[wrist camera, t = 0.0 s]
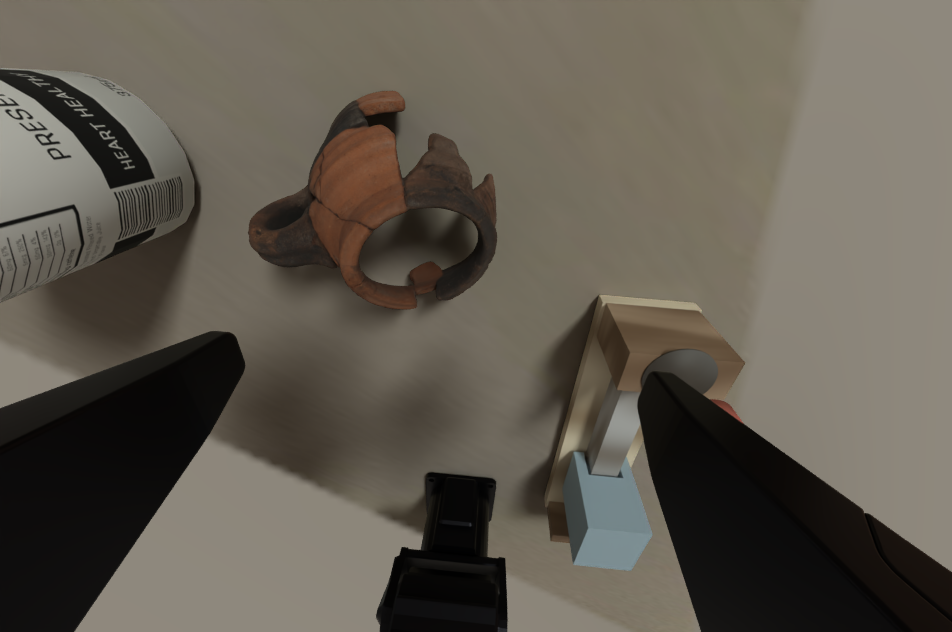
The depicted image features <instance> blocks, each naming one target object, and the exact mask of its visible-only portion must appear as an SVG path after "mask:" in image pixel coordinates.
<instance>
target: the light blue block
mask: <svg viewBox="0 0 952 632" xmlns="http://www.w3.org/2000/svg"><path fill="white" fill-rule="evenodd" d="M562 491H563V498H564V505H565V512H566V519H567V525H568V532H569V539H570V546H571V553H572V560H573V565H581V566H590V567H600V568H609V569H619V570H628V571H631V570H632V568H633V566H634V565H635V563H636V561H637V560H638V558H639V556H640V555H641V553H642V551H643V550H644V548H645V546H646V545H647V543H648V541H649V540H650V538H651V536H652V535H653V534H652V531H651V528H650V525H649V522H648V519H647V516H646V513H645V510H644V507H643V504H642V501H641V498H640V495H639V492H638V489H637V486H636V483H635V480H634V477H633V474H632V471H631V468H630V465H629V462H628V459H627V457H626V458H625V460H624V462H623V465H622V467H621V469H620V472H619V474H618V476H617V478H616V477H605V476H595V475H589V474H588V469H587V465H586V460H585V456H584V452H573V456H572V459H571V462H570V465H569V468H568V472H567V475H566V478H565V481H564V484H563V488H562Z"/></svg>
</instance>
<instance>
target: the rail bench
mask: <svg viewBox="0 0 952 632" xmlns="http://www.w3.org/2000/svg"><path fill="white" fill-rule="evenodd" d="M701 313H702V310H701V309H700V308H699V307H698V306H697V305H696V304H695V303H690V302H678V301H667V300H655V299H643V298H631V297H620V296H608V295H599V298H598V301H597V305H596V309H595V312H594V316H593V320H592V323H591V327H590V331H589V334H588V338H587V342H586V345H585V349H584V353H583V356H582V360H581V364H580V367H579V371H578V375H577V378H576V382H575V386H574V389H573V393H572V397H571V400H570V404H569V408H568V411H567V415H566V419H565V422H564V426H563V430H562V433H561V437H560V441H559V444H558V448H557V452H556V455H555V459H554V463H553V466H552V470H551V474H550V477H549V481H548V485H547V488H546V492H545V496H544V501H545V507H547V510H548V519H549V529H550V539H551V541H554V542H564V543H570V539H569V532H568V525H567V519H566V512H565V505H564V498H563V491H562V488H563V484H564V481H565V478H566V475H567V472H568V468H569V465H570V462H571V459H572V456H573V452H584V456H585V460H586V465H587V469H588V474H589V475H595V476H605V477H616V478H617V476H618V474H619V472H620V469H621V467H622V465H623V462H624V460H625V458H626V457H627V459H628V462H629V465H630V468H631V466H632V464H633V462H634V459H635V457H636V455H637V453H638V451H639V449H640V446H641V444H642V442H643V440H644V439H643V434H642V429H641V424H640V419H639V414H638V409H637V402H638V397H639V395H640V392H641V390H642V388H643V385H644V383H645V380H646V378H647V376H648V374H649V373H650V372H651V371H664V372H671V373H673V374H675V375H676V376H678V377H679V378H680V379H682V380H683V381H685V382H686V383H687V384H689V385H690V386H692V387H693V388H694V389H696V390H697V391H699V392H700V393H701V394H703V395H704V396H705V397H707V398H709V399H720V400H724V399H725V397H726V395H727V394H728V392H729V390H730V388H731V387H732V385H733V383H734V382H735V380H736V378H737V376H738V375H739V373H740V371H741V370H742V368H743V366H744V364H745V362H744V361H743V360H742V359H741V357H740V356H739V355H738V354H737V353H736V352H735V351H734V350H733V348H732V347H731V346H730V345H729V344H728V343H727V342H726V341H725V339H724V338H723V337H722V336H721V335H720V334H719V333H718V332H717V330H716V329H715V328H714V327H713V326H712V325H711V324H710V323H709V322H708V320H707V319H706V318H705V317H704V316H703V315H702V314H701Z"/></svg>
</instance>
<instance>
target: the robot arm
mask: <svg viewBox="0 0 952 632" xmlns="http://www.w3.org/2000/svg"><path fill="white" fill-rule="evenodd" d="M244 369H245V361H244V358H243V355H242V352H241V349H240V347H239V344H238V341H237V338H236V337H235V335H234V334H232V333H230V332H221V331H210V332H207V333H205V334H202V335H199V336H196V337H194V338H191V339H188V340H185V341H183V342H180V343H177V344H175V345H172V346H169V347H166V348H164V349H161V350H158V351H155V352H153V353H150V354H147V355H144V356H142V357H139V358H136V359H133V360H131V361H128V362H125V363H123V364H120V365H117V366H114V367H112V368H109V369H106V370H103V371H101V372H98V373H95V374H92V375H90V376H87V377H84V378H82V379H79V380H76V381H73V382H71V383H68V384H65V385H62V386H60V387H57V388H54V389H51V390H49V391H46V392H44V393H41V394H38V395H35V396H33V397H30V398H27V399H24V400H21V401H19V402H16V403H13V404H11V405H8V406H5V407H2V408H0V632H74V631H75V630H76V628H77V627H78V625H79V624H80V623H81V621H82V620H83V618H84V617H85V615H86V614H87V612H88V611H89V609H90V608H91V607H92V605H93V604H94V602H95V601H96V599H97V598H98V596H99V595H100V593H101V592H102V590H103V589H104V587H105V586H106V585H107V583H108V582H109V580H110V579H111V577H112V576H113V574H114V573H115V571H116V570H117V569H118V567H119V566H120V564H121V563H122V561H123V560H124V558H125V557H126V555H127V554H128V553H129V551H130V550H131V548H132V547H133V545H134V544H135V542H136V541H137V539H138V538H139V537H140V535H141V534H142V532H143V531H144V529H145V528H146V526H147V525H148V523H149V522H150V520H151V519H152V517H153V516H154V515H155V513H156V512H157V510H158V509H159V507H160V506H161V504H162V503H163V501H164V500H165V498H166V497H167V496H168V494H169V493H170V491H171V490H172V488H173V487H174V485H175V484H176V482H177V481H178V479H179V478H180V477H181V475H182V474H183V472H184V471H185V469H186V468H187V466H188V465H189V463H190V462H191V461H192V459H193V457H194V456H195V455H196V453H197V452H198V450H199V449H200V448H201V446H202V445H203V443H204V442H205V440H206V438H207V437H208V435H209V434H210V432H211V431H212V429H213V427H214V425H215V424H216V422H217V420H218V418H219V416H220V415H221V413H222V411H223V409H224V407H225V406H226V404H227V402H228V400H229V398H230V396H231V395H232V393H233V391H234V389H235V387H236V385H237V384H238V382H239V380H240V378H241V376H242V375H243V372H244ZM637 409H638V414H639V419H640V424H641V429H642V434H643V439H644V444H645V449H646V454H647V459H648V464H649V468H650V472H651V477H652V480H653V483H654V487H655V490H656V493H657V496H658V499H659V502H660V505H661V509H662V512H663V515H664V518H665V521H666V524H667V527H668V530H669V533H670V536H671V540H672V543H673V546H674V549H675V552H676V555H677V558H678V561H679V564H680V567H681V571H682V574H683V577H684V580H685V583H686V586H687V589H688V592H689V595H690V598H691V602H692V605H693V608H694V611H695V614H696V617H697V620H698V623H699V626H700V630H701V632H952V572H951V571H949V570H948V569H946V568H945V567H943V566H942V565H941V564H939V563H938V562H936V561H935V560H934V559H932V558H931V557H929V556H928V555H927V554H925V553H924V552H922V551H921V550H919V549H918V548H917V547H915V546H914V545H912V544H911V543H909V542H908V541H906V540H905V539H903V538H902V537H901V536H899V535H898V534H897V533H895V532H894V531H892V530H891V529H890V528H888V527H887V526H885V525H884V524H883V523H881V522H880V521H878V520H877V519H876V518H874V517H873V516H872V515H870V514H868V513H864V511H863V509H862V508H860V507H859V506H857V505H856V504H855V503H853V502H852V501H851V500H849V499H848V498H846V497H845V496H844V495H842V494H840V493H839V492H838V491H837V490H835V489H834V488H832V487H831V486H830V485H828V484H827V483H825V482H824V481H823V480H821V479H820V478H818V477H817V476H816V475H814V474H813V473H812V472H810V471H809V470H807V469H806V468H805V467H803V466H802V465H800V464H799V463H798V462H796V461H795V460H793V459H792V458H791V457H789V456H788V455H786V454H785V453H783V452H782V451H780V450H779V449H778V448H777V447H775V446H773V445H772V444H771V443H770V442H768V441H767V440H765V439H764V438H763V437H761V436H760V435H758V434H757V433H756V432H754V431H753V430H752V429H750V428H749V427H747V426H746V425H745V424H743V423H742V422H740V421H739V420H738V419H736V418H735V417H733V416H732V415H731V414H729V413H728V412H726V411H725V410H724V409H722V408H721V407H719V406H718V405H717V404H715V403H714V402H712V401H711V400H710V399H708V398H707V397H705V396H704V395H703V394H701V393H700V392H699V391H697V390H696V389H694V388H693V387H692V386H690V385H689V384H687V383H686V382H685V381H683V380H682V379H680V378H679V377H678V376H676V375H675V374H673V373H671V372H664V371H651V372H650V373H649V374H648V376H647V378H646V380H645V383H644V385H643V388H642V390H641V392H640V395H639V397H638V402H637ZM495 491H496V481H495V480H493V479H486V478H476V477H466V476H456V475H446V474H436V473H429V474H427V477H426V503H427V518H426V524H425V529H424V535H423V540H422V546H421V550H413V549H408V548H406V547H402V548H401V552H400V555H399V556H397V557H395V559H394V563H393V568H392V572H391V576H390V579H389V582H388V585H387V587H386V590H385V592H384V594H383V597H382V599H381V602H380V604H379V607H378V610H377V614H376V618H377V620H378V622H379V624H380V632H507V589H506V566H505V558H502V557H499V558H489V557H487V553H488V527H489V521H491V518H492V511H493V504H494V498H495Z"/></svg>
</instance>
